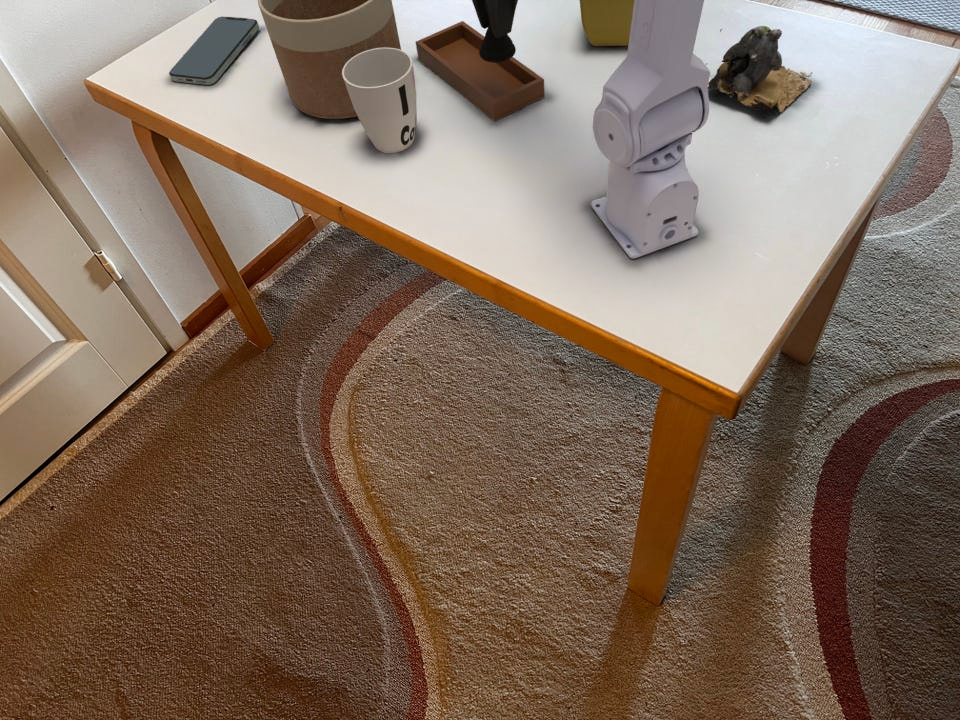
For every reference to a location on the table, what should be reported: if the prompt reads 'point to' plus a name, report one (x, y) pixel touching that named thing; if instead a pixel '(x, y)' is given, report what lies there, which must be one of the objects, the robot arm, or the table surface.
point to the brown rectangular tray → (479, 72)
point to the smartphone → (214, 50)
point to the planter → (325, 46)
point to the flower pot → (607, 21)
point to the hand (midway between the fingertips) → (496, 29)
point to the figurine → (759, 72)
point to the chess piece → (496, 45)
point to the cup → (384, 96)
